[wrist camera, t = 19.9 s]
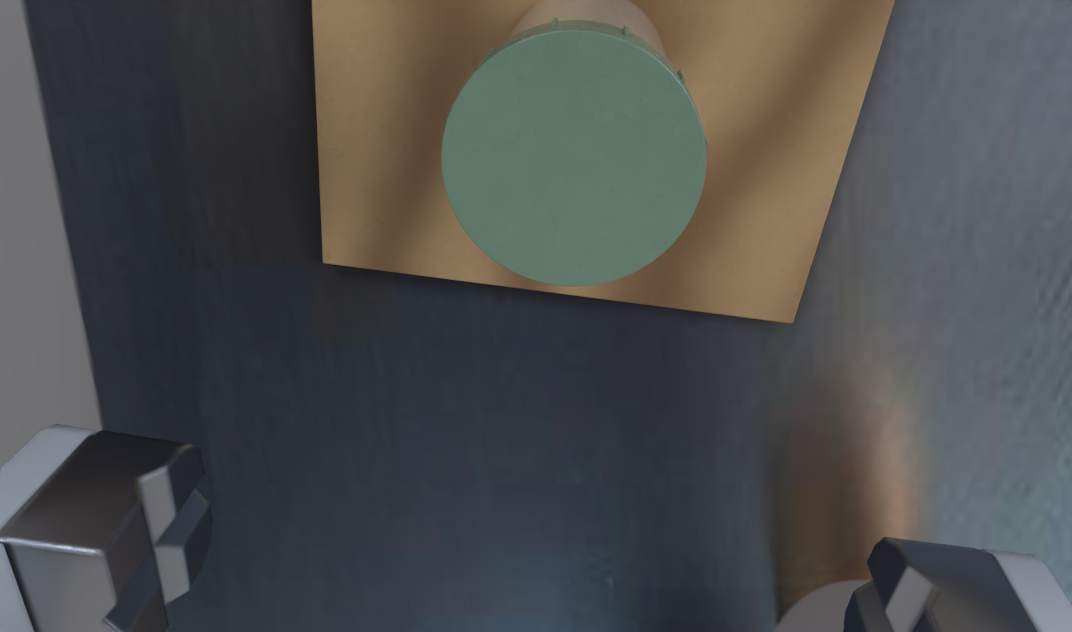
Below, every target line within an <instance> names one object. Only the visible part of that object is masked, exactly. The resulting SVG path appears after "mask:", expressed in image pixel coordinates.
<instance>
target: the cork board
mask: <svg viewBox="0 0 1072 632" xmlns="http://www.w3.org/2000/svg"><path fill="white" fill-rule="evenodd" d="M540 1H541V0H312V22H313V45H314V68H315V91H316V114H317V137H318V160H319V183H320V207H321V230H322V253H323V263H326V264H334V265H342V266H350V267H357V268H365V269H373V270H381V271H388V272H396V273H404V274H412V275H419V276H427V277H435V278H443V279H450V280H458V281H466V282H474V283H481V284H489V285H497V286H505V287H512V288H520V289H528V290H536V291H543V292H551V293H559V294H567V295H574V296H582V297H590V298H598V299H605V300H613V301H621V302H628V303H636V304H644V305H652V306H659V307H667V308H675V309H683V310H690V311H698V312H706V313H714V314H721V315H729V316H737V317H745V318H752V319H760V320H768V321H776V322H783V323H791V324H792V323H793V322H794V319H795V315H796V312H797V309H798V306H799V303H800V300H801V296H802V293H803V290H804V287H805V284H806V281H807V278H808V274H809V271H810V268H811V265H812V262H813V259H814V255H815V252H816V249H817V246H818V243H819V240H820V236H821V233H822V230H823V227H824V224H825V221H826V217H827V214H828V211H829V208H830V205H831V202H832V199H833V195H834V192H835V189H836V186H837V183H838V180H839V176H840V173H841V170H842V167H843V164H844V161H845V157H846V154H847V151H848V148H849V145H850V142H851V138H852V135H853V132H854V129H855V126H856V123H857V120H858V116H859V113H860V110H861V107H862V104H863V101H864V97H865V94H866V91H867V88H868V85H869V82H870V78H871V75H872V72H873V69H874V66H875V63H876V60H877V56H878V53H879V50H880V47H881V44H882V41H883V37H884V34H885V31H886V28H887V25H888V22H889V18H890V15H891V12H892V9H893V6H894V3H895V0H629V1H630V2H632V3H633V4H634V5H636V6H637V7H638V8H639V9H640V10H641V11H642V12H643V13H645V15H646V16H647V17H648V18H649V20H650V21H651V22H652V23H653V25H654V27H655V28H656V30H657V32H658V34H659V36H660V38H661V41H662V43H663V46H664V49H665V52H666V55H667V58H668V60H669V61H670V63H671V64H672V65H673V66H674V67H675V69H676V70H677V71H678V70H680V69H681V71H682V72H683V75H684V77H685V80H686V81H685V84H686V86H687V87H688V89H689V92H690V94H691V97H692V99H693V101H694V104H695V106H696V109H697V111H698V114H699V117H700V120H701V124H702V127H703V131H704V135H705V138H706V141H707V143H708V148H706V151H707V153H706V174H705V180H704V186H703V190H702V193H701V196H700V200H699V203H698V205H697V207H696V209H695V212H694V214H693V216H692V218H691V219H690V221H689V223H688V224H687V226H686V228H685V229H684V231H683V232H682V233H681V235H680V236H679V237H678V238H677V239H676V241H675V242H674V243H673V244H672V245H671V246H670V247H669V248H668V249H667V250H666V251H665V252H664V253H663V254H662V255H661V256H659V257H658V258H656V259H655V260H654V261H652V262H651V263H650V264H648V265H647V266H645V267H643V268H641V269H640V270H638V271H636V272H634V273H632V274H630V275H627V276H625V277H623V278H620V279H617V280H614V281H610V282H607V283H603V284H597V285H591V286H574V287H571V286H557V285H552V284H546V283H541V282H538V281H535V280H531V279H528V278H525V277H523V276H521V275H518V274H516V273H514V272H512V271H510V270H508V269H507V268H505V267H503V266H502V265H500V264H498V263H497V262H496V261H494V260H493V259H492V258H490V257H489V256H488V255H486V254H485V253H484V252H483V251H482V250H481V249H480V248H479V247H478V246H477V245H476V244H475V243H474V242H473V241H472V239H471V238H470V237H469V236H468V234H467V233H466V232H465V231H464V229H463V228H462V226H461V224H460V223H459V221H458V219H457V218H456V216H455V214H454V212H453V210H452V207H451V205H450V203H449V201H448V197H447V194H446V190H445V187H444V182H443V176H442V170H441V147H442V138H443V133H444V129H445V124H446V120H447V118H448V116H447V112H448V110H449V109H450V107H451V106H452V104H453V103H454V101H455V99H456V97H457V96H458V94H459V92H460V90H461V89H462V87H463V86H464V84H465V83H466V81H467V80H468V79H469V77H470V76H471V74H472V73H473V72H474V70H475V69H476V68H477V67H478V65H479V64H480V63H481V62H482V61H483V60H484V59H485V57H484V56H485V55H486V53H487V52H488V50H489V49H490V48H491V47H492V46H493V47H494V48H497V47H498V46H499V45H501V44H502V43H503V42H505V41H506V40H507V38H508V36H509V35H510V33H511V32H512V30H513V29H514V27H515V25H516V24H517V23H518V21H519V20H520V19H521V18H522V16H523V15H524V14H525V13H526V12H527V11H528V10H529V9H530V8H532V7H533V6H534V5H536V4H537V3H538V2H540Z"/></svg>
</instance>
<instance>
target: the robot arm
mask: <svg viewBox="0 0 1072 632" xmlns="http://www.w3.org/2000/svg"><path fill="white" fill-rule="evenodd" d="M204 474H205V471H204V466H203V461H202V456H201V452H200V449H198V448H196V447H195V446H193V445H191V444H186V443H180V442H173V441H167V440H161V439H154V438H148V437H142V436H136V435H129V434H123V433H117V432H110V431H104V430H102V431H96V430H90V429H84V428H78V427H72V426H66V425H60V424H56V425H53V426H50V427H47V428H44V429H41V430H40V431H39V432H38V433H37V434H36V435H35V436H34V437H33V438H32V439H31V440H30V441H29V442H27V443H26V444H25V445H24V446H23V447H22V448H21V449H20V450H19V451H18V452H17V453H16V454H15V455H14V456H13V457H12V458H11V459H10V460H9V461H8V462H7V463H6V464H5V465H4V466H2V467H1V469H0V632H165V631H166V629H167V627H168V626H169V624H168V620H167V615H166V610H165V605H166V604H168V603H169V602H171V601H172V600H174V599H176V598H177V597H179V596H180V595H182V594H184V593H185V592H187V591H188V590H190V588H191V586H192V584H193V583H194V581H195V579H196V577H197V576H198V574H199V572H200V570H201V568H202V566H203V563H204V560H205V557H206V553H207V550H208V547H209V544H210V540H211V527H212V517H211V510H210V503H209V502H208V501H207V500H206V499H205V498H204V497H203V496H202V495H201V494H200V493H199V492H198V491H197V490H196V489H195V487H196V486H197V484H198V483H199V481H200V480H201V478H202V477H203V475H204ZM867 564H868V566H869V569H870V572H871V575H872V577H873V580H871V581H870V582H868V583H866V584H865V585H863V586H861V587H860V588H858V589H856V590H855V591H854V592H853V594H852V597H851V599H850V602H849V604H848V607H847V609H846V612H845V619H844V631H843V632H1072V605H1071V603H1070V602H1069V600H1068V599H1067V597H1066V596H1065V594H1064V593H1063V591H1062V590H1061V588H1060V586H1059V585H1058V583H1057V582H1056V580H1055V579H1054V577H1053V576H1052V574H1051V572H1050V571H1049V569H1048V568H1047V566H1046V565H1045V564H1044V563H1043V562H1041V561H1040V560H1039V559H1037V558H1036V557H1035V556H1033V555H1031V554H1022V553H1014V552H1006V551H997V550H989V549H980V550H979V549H975V548H969V547H961V546H953V545H945V544H937V543H929V542H921V541H913V540H905V539H897V538H889V537H884V538H883V539H882V540H881V541H880V542H878V543H877V544H876V545H875V546H874V549H873V551H872V553H871V555H870V557H869V559H868V561H867Z"/></svg>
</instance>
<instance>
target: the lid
mask: <svg viewBox="0 0 1072 632" xmlns="http://www.w3.org/2000/svg"><path fill="white" fill-rule="evenodd" d="M484 57H485V59H484V60H483V61H482V62H481V63H480V64H479V65H478V67H477V68H476V69H475V70H474V72H473V73H472V74H471V76H470V77H469V79H468V80H467V81H466V83H465V84H464V86H463V87H462V89H461V90H460V92H459V94H458V96H457V97H456V99H455V101H454V103H453V104H452V106H451V107H450V109H449V110H448V112H447V116H448V118H447V120H446V124H445V129H444V133H443V138H442V147H441V170H442V176H443V182H444V187H445V190H446V194H447V197H448V201H449V203H450V205H451V207H452V210H453V212H454V214H455V216H456V218H457V219H458V221H459V223H460V224H461V226H462V228H463V229H464V231H465V232H466V233H467V234H468V236H469V237H470V238H471V239H472V241H473V242H474V243H475V244H476V245H477V246H478V247H479V248H480V249H481V250H482V251H483V252H484V253H485V254H486V255H488V256H489V257H490V258H492V259H493V260H494V261H496V262H497V263H498V264H500V265H502V266H503V267H505V268H507V269H508V270H510V271H512V272H514V273H516V274H518V275H521V276H523V277H525V278H528V279H531V280H535V281H538V282H541V283H546V284H552V285H557V286H571V287H574V286H591V285H597V284H603V283H607V282H610V281H614V280H617V279H620V278H623V277H625V276H627V275H630V274H632V273H634V272H636V271H638V270H640V269H641V268H643V267H645V266H647V265H648V264H650V263H651V262H652V261H654V260H655V259H656V258H658V257H659V256H661V255H662V254H663V253H664V252H665V251H666V250H667V249H668V248H669V247H670V246H671V245H672V244H673V243H674V242H675V241H676V239H677V238H678V237H679V236H680V235H681V233H682V232H683V231H684V229H685V228H686V226H687V224H688V223H689V221H690V219H691V218H692V216H693V214H694V212H695V209H696V207H697V205H698V203H699V200H700V196H701V193H702V190H703V186H704V180H705V174H706V153H707V151H706V148H708V143H707V141H706V138H705V135H704V131H703V127H702V124H701V120H700V117H699V114H698V111H697V109H696V106H695V104H694V101H693V99H692V97H691V94H690V92H689V89H688V87H687V86H686V84H685V81H686V80H685V77H684V75H683V72H682V71H681V69H680V70H678V71H677V70H676V69H675V67H674V66H673V65H672V64H671V63H670V61H669V60H668V59H667V58H666V57H665V56H664V55H663V54H662V53H660V52H659V51H658V50H657V49H656V48H655V47H654V46H652V45H651V44H649V43H648V42H646V41H645V40H644V39H642V38H641V37H639V36H637V35H635V34H633V33H631V32H629V28H628V27H627V26H624V28H623V29H622V28H619V27H616V26H613V25H610V24H606V23H601V22H596V21H589V20H564V21H558V18H553V20H552V22H550V23H546V24H542V25H538V26H535V27H532V28H530V29H527V30H525V31H522V32H520V33H518V34H517V35H515V36H513V37H511V38H509V39H507V40H506V41H505V42H503V43H502V44H501V45H499V46H498V47H497V48H494V47H493V46H492V47H491V48H490V49H489V50H488V52H487V53H486V55H485V56H484Z"/></svg>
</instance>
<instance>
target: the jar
mask: <svg viewBox="0 0 1072 632" xmlns="http://www.w3.org/2000/svg"><path fill="white" fill-rule="evenodd" d="M553 18H558V21H564V20H589V21H596V22H601V23H606V24H610V25H613V26H616V27H619V28H622V29H623V28H624V26H627V27H628V28H629V32H631V33H633V34H635V35H637V36H639V37H641V38H642V39H644V40H645V41H646V42H648V43H649V44H651V45H652V46H654V47H655V48H656V49H657V50H658V51H659V52H660V53H662V54H663V55H664V56H665V57H666V58H667V55H666V52H665V49H664V46H663V43H662V41H661V38H660V36H659V34H658V32H657V30H656V28H655V27H654V25H653V23H652V22H651V21H650V20H649V18H648V17H647V16H646V15H645V13H643V12H642V11H641V10H640V9H639V8H638V7H637V6H636V5H634V4H633V3H632V2H630V1H629V0H541V1H540V2H538V3H537V4H536V5H534V6H533V7H532V8H530V9H529V10H528V11H527V12H526V13H525V14H524V15H523V16H522V18H521V19H520V20H519V21H518V23H517V24H516V25H515V27H514V29H513V30H512V32H511V33H510V35H509V36H508V38H507V39H509V38H511V37H513V36H515V35H517V34H518V33H520V32H522V31H525V30H527V29H530V28H532V27H535V26H538V25H542V24H546V23H550V22H552V20H553ZM667 59H668V58H667Z"/></svg>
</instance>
